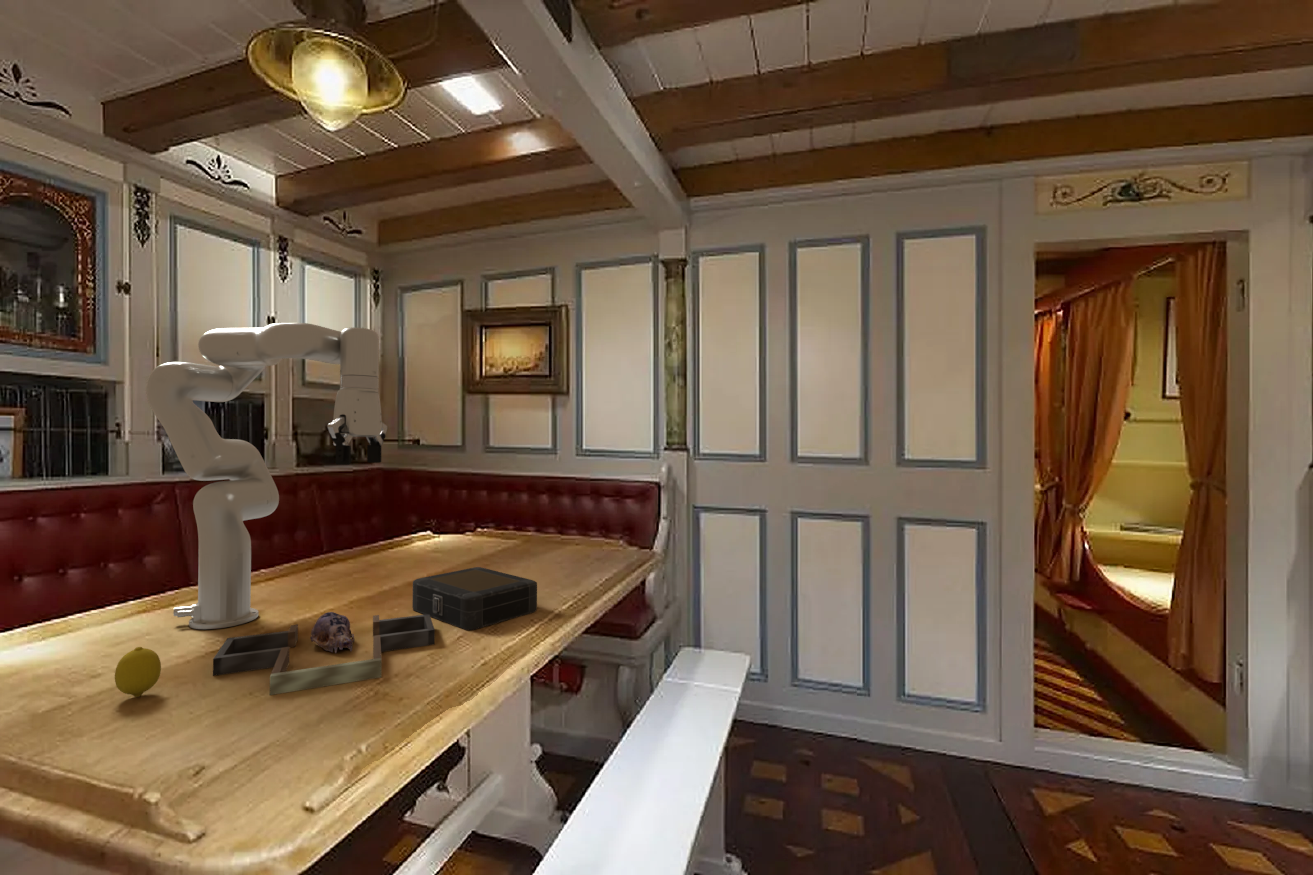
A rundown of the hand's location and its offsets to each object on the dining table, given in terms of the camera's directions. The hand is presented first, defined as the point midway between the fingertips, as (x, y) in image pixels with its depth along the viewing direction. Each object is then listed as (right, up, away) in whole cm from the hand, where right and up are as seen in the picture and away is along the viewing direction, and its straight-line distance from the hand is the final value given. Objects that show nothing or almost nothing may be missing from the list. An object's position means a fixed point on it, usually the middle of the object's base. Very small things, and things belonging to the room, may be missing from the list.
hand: (359, 463), depth 126 cm
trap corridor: (+3, -36, -15) cm, 39 cm away
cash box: (+21, -37, +14) cm, 45 cm away
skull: (0, -37, -11) cm, 38 cm away
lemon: (-18, -36, -33) cm, 53 cm away
